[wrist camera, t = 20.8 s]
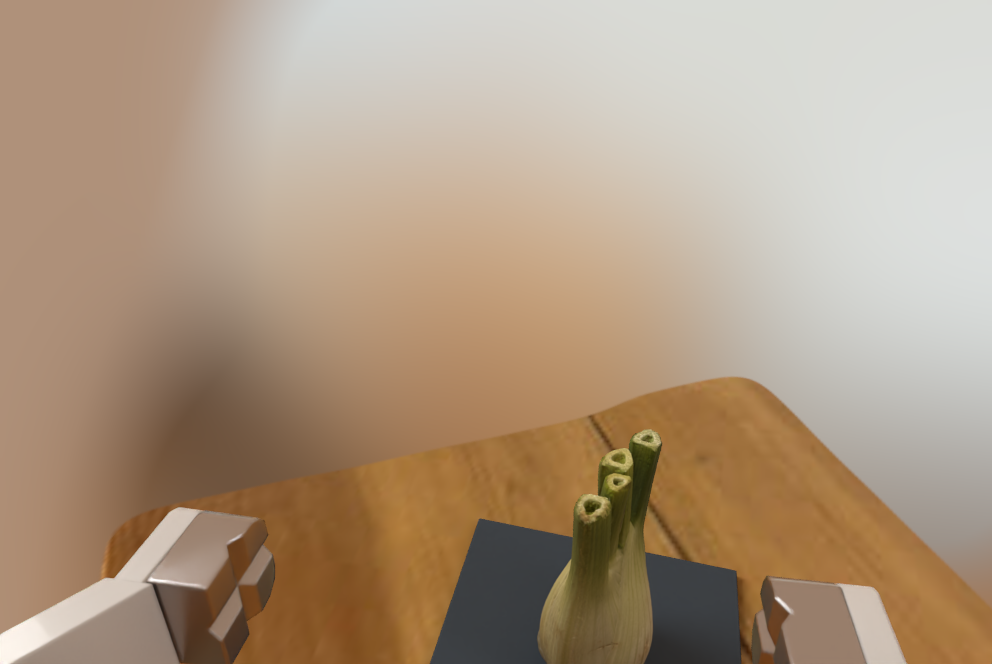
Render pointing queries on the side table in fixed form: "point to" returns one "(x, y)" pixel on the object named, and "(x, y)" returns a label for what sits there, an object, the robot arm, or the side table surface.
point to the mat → (530, 577)
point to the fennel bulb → (606, 568)
